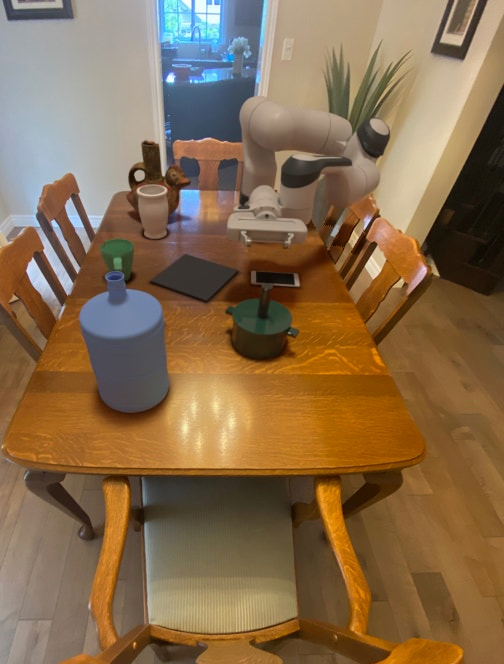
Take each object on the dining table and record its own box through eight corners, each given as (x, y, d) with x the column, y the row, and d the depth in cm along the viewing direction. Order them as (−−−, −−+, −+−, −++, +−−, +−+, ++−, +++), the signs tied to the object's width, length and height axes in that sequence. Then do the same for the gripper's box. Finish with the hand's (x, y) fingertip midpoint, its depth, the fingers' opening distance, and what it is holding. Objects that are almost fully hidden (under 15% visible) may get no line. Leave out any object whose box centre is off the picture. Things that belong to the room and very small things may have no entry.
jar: (165, 242, 130) (162, 197, 119) (137, 239, 131) (132, 194, 120) (172, 229, 137) (170, 185, 126) (146, 226, 138) (142, 182, 127)
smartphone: (251, 270, 117) (298, 273, 116) (250, 272, 117) (297, 275, 117) (251, 282, 112) (300, 286, 111) (250, 284, 112) (299, 287, 112)
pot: (237, 316, 102) (239, 292, 96) (301, 339, 96) (308, 315, 90) (213, 343, 94) (214, 319, 88) (281, 370, 88) (287, 346, 82)
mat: (185, 256, 124) (185, 253, 123) (237, 272, 117) (238, 270, 117) (150, 283, 112) (150, 280, 112) (206, 302, 106) (206, 300, 105)
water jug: (159, 419, 77) (146, 307, 56) (89, 409, 79) (50, 296, 58) (176, 369, 87) (170, 258, 66) (113, 360, 89) (88, 249, 68)
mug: (105, 270, 117) (99, 239, 109) (136, 268, 118) (132, 237, 110) (106, 296, 107) (99, 264, 100) (139, 293, 108) (135, 261, 101)
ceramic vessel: (185, 230, 136) (184, 152, 118) (120, 222, 140) (108, 145, 121) (196, 212, 147) (196, 138, 129) (135, 205, 151) (127, 132, 132)
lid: (247, 296, 96) (251, 263, 89) (300, 313, 92) (308, 280, 85) (221, 325, 88) (223, 291, 81) (277, 346, 83) (285, 312, 76)
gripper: (301, 234, 99) (307, 259, 90) (226, 230, 100) (225, 255, 90) (306, 210, 94) (314, 234, 85) (227, 206, 95) (226, 229, 86)
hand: (267, 245), depth 88 cm, fingers open, 8 cm apart
